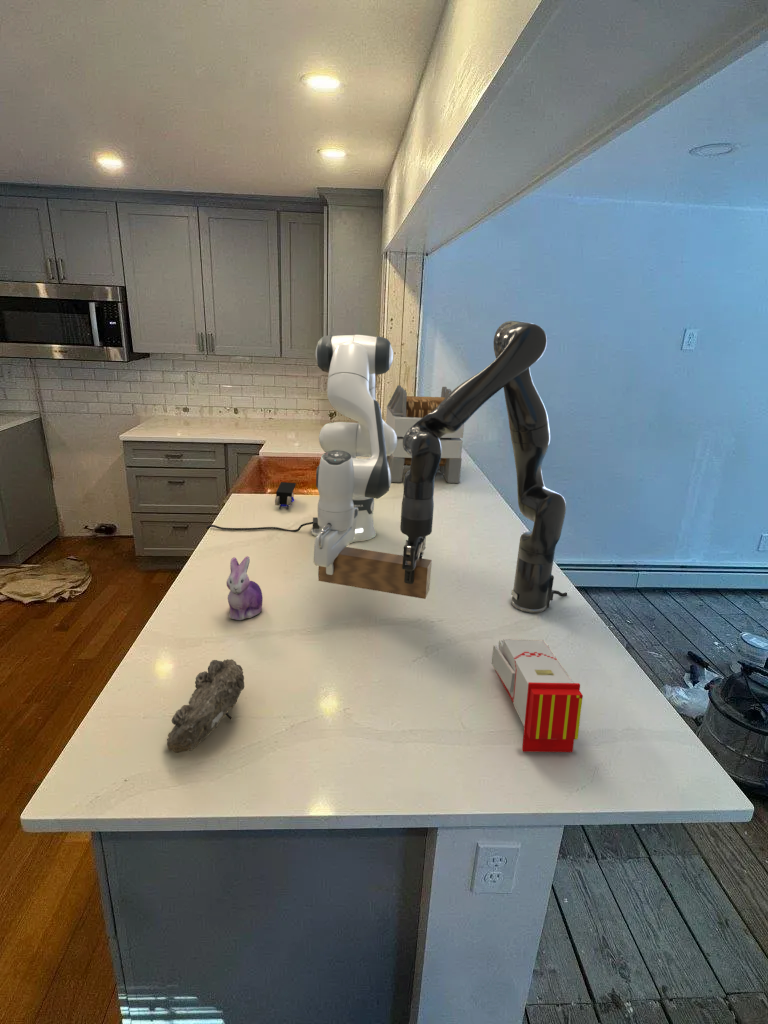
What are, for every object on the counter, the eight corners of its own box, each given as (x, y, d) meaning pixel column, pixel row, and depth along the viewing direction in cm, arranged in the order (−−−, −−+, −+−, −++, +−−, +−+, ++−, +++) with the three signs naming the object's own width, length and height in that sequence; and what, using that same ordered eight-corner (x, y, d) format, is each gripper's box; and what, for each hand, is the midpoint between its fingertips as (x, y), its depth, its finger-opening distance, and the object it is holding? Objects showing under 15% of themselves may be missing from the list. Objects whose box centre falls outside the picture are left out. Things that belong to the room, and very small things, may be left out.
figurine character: (292, 514, 217) (296, 498, 230) (291, 496, 214) (296, 480, 227) (274, 514, 217) (280, 497, 230) (273, 496, 213) (279, 480, 227)
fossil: (192, 660, 117) (244, 628, 112) (224, 691, 120) (276, 661, 115) (142, 746, 98) (202, 712, 93) (182, 779, 101) (242, 748, 96)
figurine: (231, 625, 139) (228, 569, 133) (222, 606, 147) (219, 553, 142) (269, 617, 143) (267, 563, 138) (258, 599, 151) (256, 547, 146)
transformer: (382, 463, 289) (386, 382, 275) (445, 464, 293) (451, 384, 279) (390, 482, 257) (394, 392, 243) (460, 483, 261) (468, 394, 247)
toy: (540, 622, 128) (592, 691, 98) (535, 677, 130) (584, 759, 101) (487, 621, 127) (523, 690, 98) (483, 676, 130) (516, 758, 101)
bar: (318, 581, 144) (318, 550, 141) (325, 572, 148) (325, 543, 146) (425, 599, 137) (427, 568, 134) (429, 590, 142) (431, 559, 139)
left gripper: (332, 534, 129) (331, 588, 134) (360, 506, 148) (359, 554, 153) (307, 530, 131) (307, 583, 136) (337, 503, 149) (337, 551, 154)
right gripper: (426, 525, 126) (421, 591, 131) (438, 506, 139) (433, 566, 144) (393, 521, 128) (390, 585, 133) (408, 502, 141) (405, 561, 146)
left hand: (334, 568), depth 144 cm, fingers closed on bar, 5 cm apart
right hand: (412, 575), depth 139 cm, fingers open, 8 cm apart
